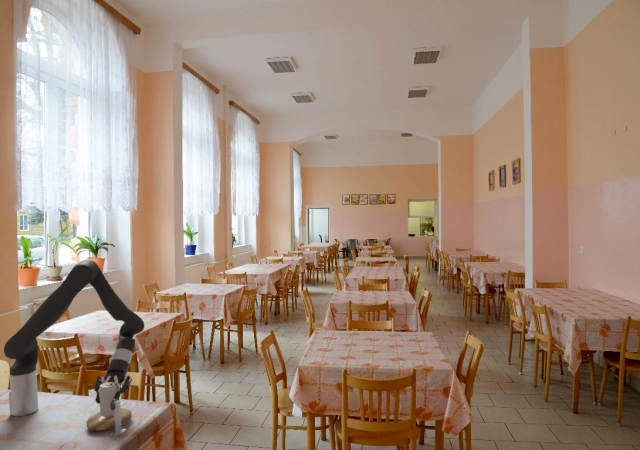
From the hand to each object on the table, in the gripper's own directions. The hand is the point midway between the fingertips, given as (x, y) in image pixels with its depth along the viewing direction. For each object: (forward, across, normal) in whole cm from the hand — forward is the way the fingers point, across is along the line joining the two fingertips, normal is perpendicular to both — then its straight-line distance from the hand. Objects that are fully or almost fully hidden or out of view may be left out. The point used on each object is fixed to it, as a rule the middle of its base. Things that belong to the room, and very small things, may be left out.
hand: (106, 402), depth 169 cm
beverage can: (+3, 0, +5) cm, 6 cm away
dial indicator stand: (+11, +8, +2) cm, 14 cm away
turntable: (+4, 0, +7) cm, 8 cm away
